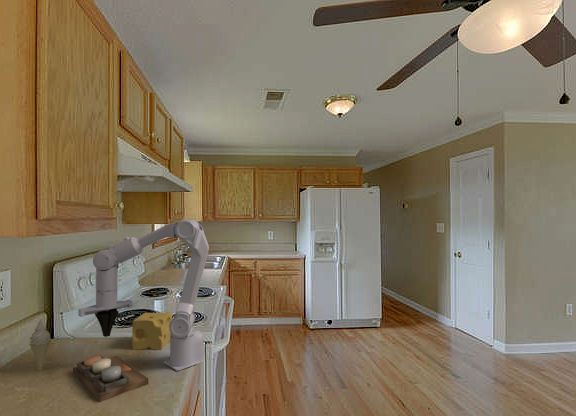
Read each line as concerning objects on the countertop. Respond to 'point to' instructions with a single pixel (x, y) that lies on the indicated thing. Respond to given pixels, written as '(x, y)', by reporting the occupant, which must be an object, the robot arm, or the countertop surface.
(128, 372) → the button panel
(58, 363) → the countertop surface
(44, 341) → the ice cream cone
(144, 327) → the cheese
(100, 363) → the cream button
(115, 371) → the slate button
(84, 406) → the countertop surface
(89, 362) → the terracotta button
